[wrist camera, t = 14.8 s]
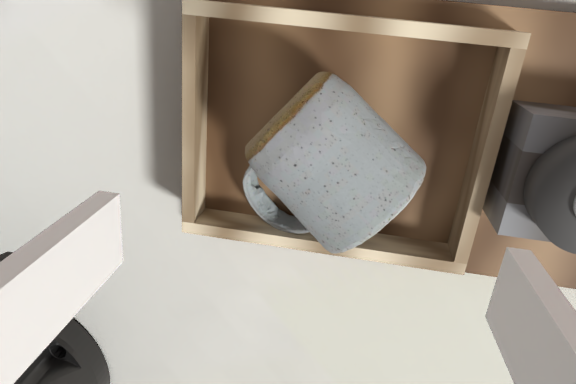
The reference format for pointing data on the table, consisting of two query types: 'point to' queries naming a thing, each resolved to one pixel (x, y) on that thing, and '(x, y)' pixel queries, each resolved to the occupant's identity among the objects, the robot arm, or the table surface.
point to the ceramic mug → (331, 166)
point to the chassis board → (387, 116)
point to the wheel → (554, 194)
